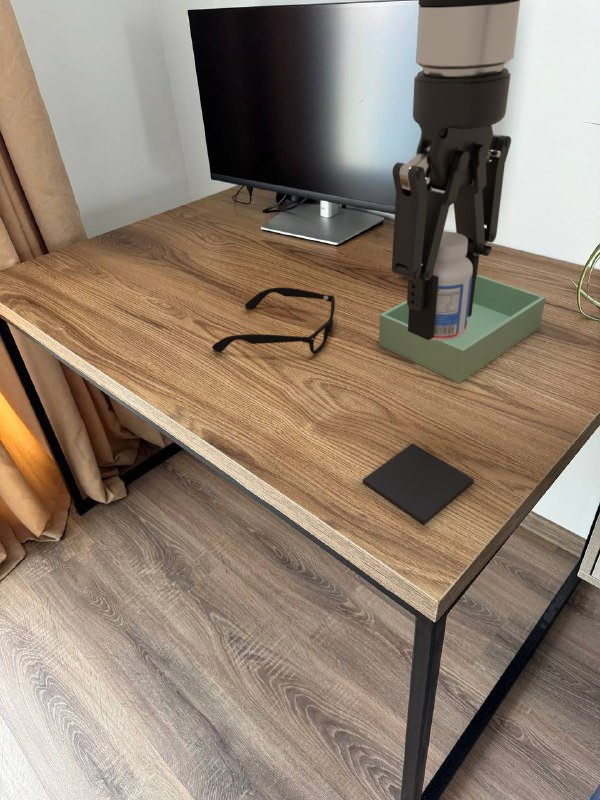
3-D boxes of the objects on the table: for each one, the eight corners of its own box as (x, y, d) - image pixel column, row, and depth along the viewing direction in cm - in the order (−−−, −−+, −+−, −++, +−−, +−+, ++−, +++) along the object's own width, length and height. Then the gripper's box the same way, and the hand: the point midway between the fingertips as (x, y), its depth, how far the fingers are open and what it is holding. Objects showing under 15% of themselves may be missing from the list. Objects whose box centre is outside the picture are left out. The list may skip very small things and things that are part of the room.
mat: (473, 482, 67) (474, 479, 67) (423, 525, 63) (424, 521, 62) (412, 446, 73) (412, 442, 73) (362, 483, 68) (362, 479, 68)
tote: (539, 328, 94) (546, 296, 90) (459, 383, 83) (463, 350, 80) (460, 298, 103) (463, 269, 100) (378, 345, 92) (379, 314, 89)
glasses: (316, 371, 89) (317, 343, 86) (209, 353, 93) (206, 326, 90) (342, 318, 101) (343, 292, 98) (247, 305, 106) (245, 280, 103)
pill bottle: (433, 311, 64) (440, 224, 58) (476, 327, 61) (488, 236, 55) (402, 330, 61) (406, 240, 55) (445, 348, 58) (454, 254, 52)
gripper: (490, 51, 54) (464, 283, 68) (346, 82, 45) (350, 344, 58) (567, 54, 49) (523, 303, 63) (424, 90, 40) (408, 373, 54)
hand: (440, 322), depth 61 cm, fingers closed on pill bottle, 5 cm apart
